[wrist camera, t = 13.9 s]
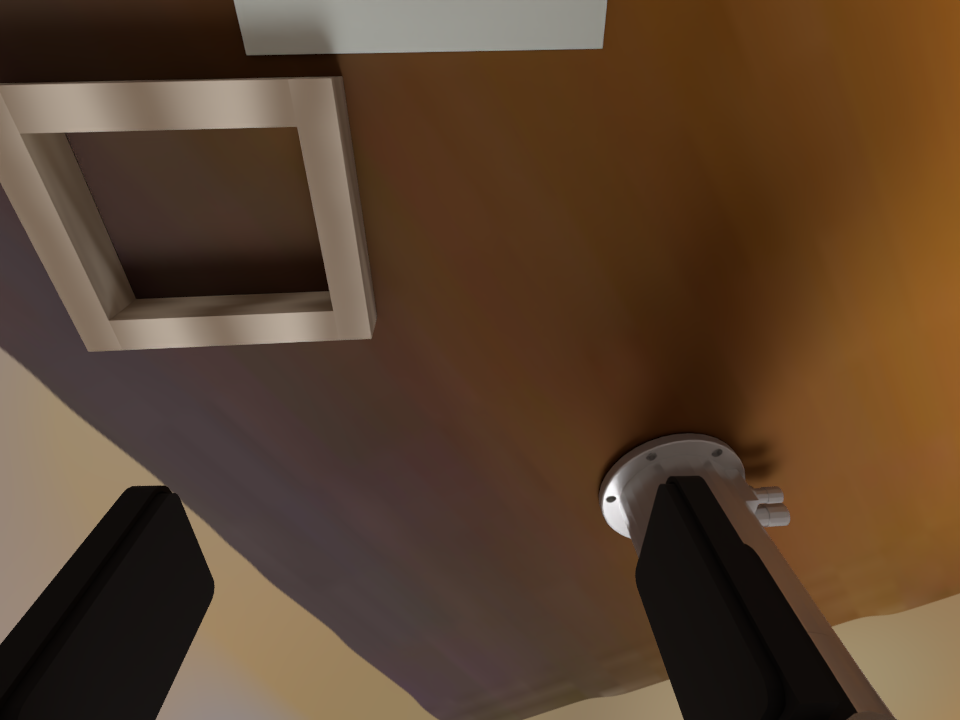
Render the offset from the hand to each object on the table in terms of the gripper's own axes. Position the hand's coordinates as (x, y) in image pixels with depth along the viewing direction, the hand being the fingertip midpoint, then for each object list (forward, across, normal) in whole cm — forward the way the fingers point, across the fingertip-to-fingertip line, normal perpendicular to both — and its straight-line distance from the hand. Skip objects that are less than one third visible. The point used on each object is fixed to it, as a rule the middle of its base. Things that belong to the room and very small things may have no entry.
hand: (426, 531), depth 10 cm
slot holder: (+23, +14, -1) cm, 27 cm away
